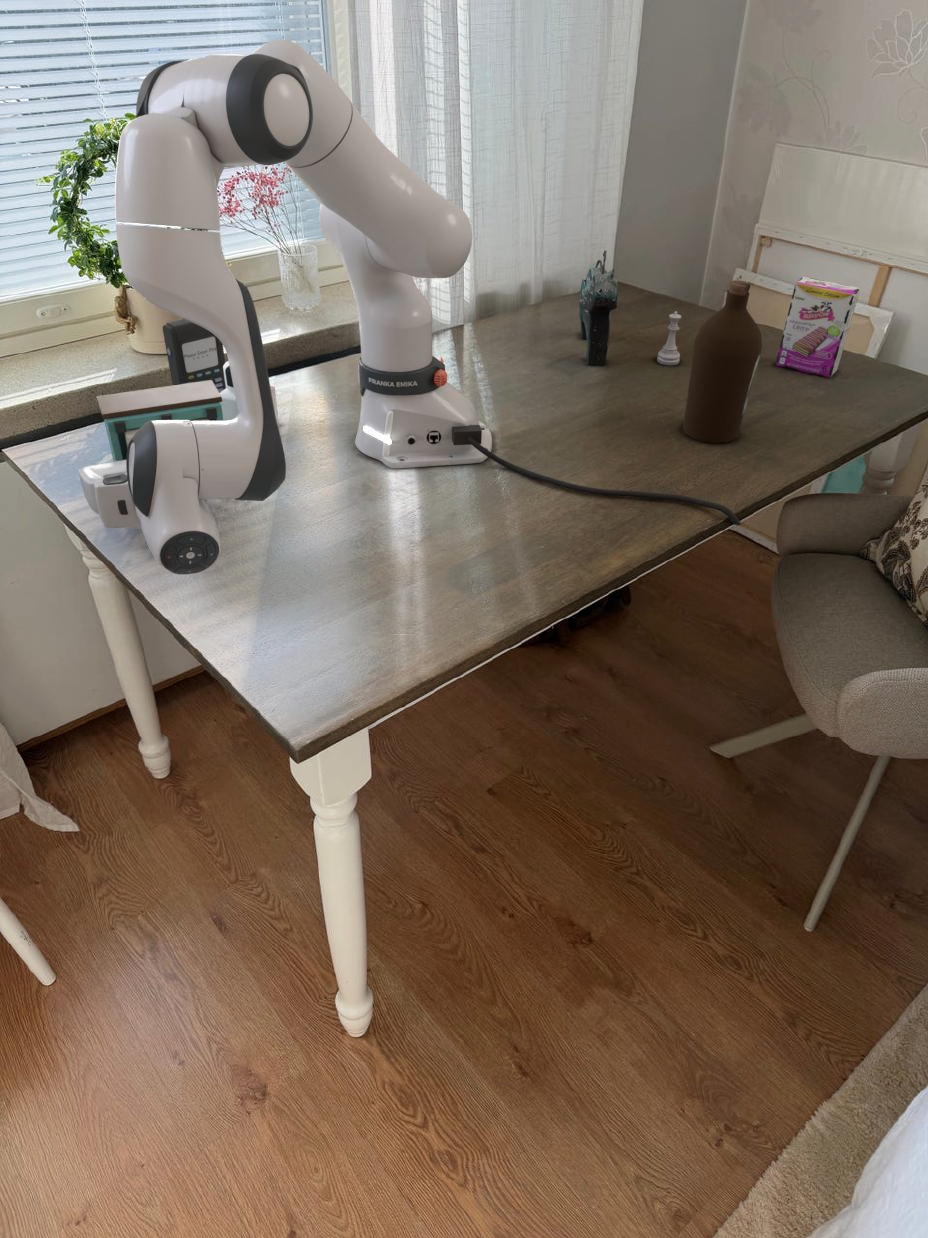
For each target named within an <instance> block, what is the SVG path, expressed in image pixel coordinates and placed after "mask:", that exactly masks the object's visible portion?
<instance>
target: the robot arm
mask: <svg viewBox="0 0 928 1238" xmlns="http://www.w3.org/2000/svg"><path fill="white" fill-rule="evenodd" d="M135 110H136V111H135V115H134V119H133V118H132V120H130V121H129V122H128V123H126V125H125V126H124V128H123V129H122V132H121V134H120V137H119V143H118V149H117V158H116V168H115V184H114V212H115V213H114V214H115V215H114V216H115V223H116V224H115V232H116V234H115V235H116V242H117V251H118V256H119V262H120V267H121V271H122V273H123V276H124V278H125V279H126V281H127V283H128V284H129V285H130V287H131V288H132V289H133V290H134V291H135V292H136V293H137V294H138V295H139V296H140V297H141V298H143V299H144V300H145V301H146V302H148V303H150V304H151V305H153V306H155V307H156V308H158V309H160V310H161V311H164V312H166V313H168V314H171V315H173V316H175V317H177V318H180V319H181V320H182V319H185V320H187V321H190V322H192V323H194V324H196V325H199V326H201V327H203V328H205V329H206V330H208V331H210V332H211V333H213V334H214V335H215V336H216V337H217V338H218V339H219V340H220V341H221V343H222V344H223V349H224V350H225V353H226V355H227V356H226V357H227V361H229V366H230V371H231V376H232V381H233V386H234V392H235V397H236V402H237V407H238V415H237V417H236V418H235V419H232V420H225V421H190V420H156V421H148V422H146V423H145V424H144V425H143V426H142V427H141V428H140V429H139V430H138V431H137V432H136V434H135V435H134V436H133V438H132V439H131V440H130V442H129V445H128V449H127V459H126V460H121V461H115V462H114V461H110V462H104V463H98V464H91V465H86V466H83V467H81V468H80V469H79V470H78V473H77V474H78V477H79V482H80V485H81V488H82V492H83V496H84V498H85V501H86V502H87V504H88V506H89V508H90V509H91V511H92V512H94V513H95V514H97V515H98V516H99V517H100V520H101V522H102V525H103V526H104V527H105V528H107V529H140V530H141V532H142V535H143V538H144V540H145V542H146V545H147V546H148V549H149V551H150V552H151V554H152V556H153V557H154V559H155V561H156V562H157V563H158V564H159V565H160V566H161V567H162V568H163V569H165V570H166V571H167V572H169V573H173V574H175V575H194V574H198V573H201V572H204V571H207V569H209V568H210V567H211V566H213V565H214V564H215V563H216V561H217V560H218V558H219V556H220V554H221V538H220V533H219V529H218V525H217V522H216V519H215V516H214V514H213V511H212V509H211V506H210V505H209V504H208V503H207V501H214V500H215V501H216V500H235V501H249V502H250V501H251V502H252V501H254V502H264V501H266V500H267V499H268V498H269V497H270V496H272V495H273V494H274V493H276V491H277V490H278V489H279V488H280V487H281V486H282V485H283V483H284V482H285V479H286V474H287V457H286V452H285V451H286V450H285V447H284V444H283V441H282V437H281V431H280V429H279V425H278V424H277V420H276V416H275V411H274V405H273V399H272V394H271V388H270V385H271V383H270V378H269V371H268V366H267V360H266V353H265V349H264V344H263V338H262V334H261V329H260V324H259V320H258V315H257V311H256V307H255V303H254V300H253V297H252V295H251V292H250V290H249V288H248V286H247V284H245V283H243V282H242V281H240V280H238V279H237V278H235V276H234V275H233V273H232V272H231V270H230V267H229V265H228V264H227V260H226V257H225V255H224V254H225V253H224V251H223V247H222V240H221V224H220V223H221V219H220V218H221V217H220V205H219V195H218V186H219V182H220V178H221V176H222V173H223V172H224V170H225V169H231V168H236V167H249V166H257V165H261V166H274V165H278V164H281V163H285V164H286V166H287V167H288V168H289V169H290V170H291V172H292V173H294V175H295V176H296V177H297V178H298V179H299V180H300V182H301V183H302V184H303V185H304V186H305V188H307V190H308V191H309V192H310V193H311V194H312V196H313V197H314V198H315V199H316V200H317V201H318V202H319V203H320V206H319V212H318V213H319V215H318V216H319V217H318V218H319V219H318V220H319V226H320V231H321V233H322V234H323V237H324V239H325V240H326V241H327V243H328V244H329V245H330V246H331V248H333V250H334V251H335V253H336V255H337V257H338V259H339V260H340V263H341V265H342V266H343V269H344V271H345V274H346V276H347V279H348V281H349V285H350V287H351V289H352V290H351V291H352V293H353V297H354V301H355V304H356V308H357V309H356V310H357V314H358V315H357V316H358V327H359V341H360V357H359V360H358V366H357V375H358V389H359V392H360V396H361V401H360V402H361V404H360V414H359V421H358V426H357V427H358V428H357V432H356V436H355V440H354V444H355V447H356V449H358V451H359V452H361V453H362V454H364V455H365V456H367V457H370V458H373V459H375V460H377V461H378V460H379V461H380V462H382V463H383V464H384V465H385V466H386V467H388V468H391V469H408V468H424V467H438V466H455V465H468V464H481V463H482V462H484V461H485V460H487V459H488V458H489V459H490V460H492V461H493V462H495V463H496V464H498V465H500V466H502V467H504V468H506V469H508V470H511V471H513V472H515V473H518V474H520V475H522V476H525V477H527V478H531V479H534V480H536V481H541V482H544V483H547V484H550V485H553V486H556V487H560V488H564V489H566V490H567V489H568V490H570V491H571V490H572V491H575V492H581V493H586V494H591V495H599V496H606V497H607V496H611V497H624V498H625V497H628V498H640V499H651V500H652V499H653V500H663V501H664V500H665V501H674V502H682V503H686V504H691V505H695V506H700V507H704V508H708V509H709V508H710V509H712V510H717V511H718V512H721V513H723V514H724V515H725V516H726V517H728V519H729V520H730V522H732V524H733V525H734V526H741V525H742V524H741V522H740V520H739V518H738V516H737V515H735V513H734V512H733V511H732V510H731V509H729V508H728V507H727V506H725V505H723V504H720V503H717V502H713V501H708V500H704V499H700V498H695V497H691V496H685V495H680V494H672V493H671V494H670V493H661V492H649V491H648V492H646V491H637V490H620V489H619V490H618V489H605V488H597V487H590V486H585V485H579V484H575V483H571V482H567V481H563V480H559V479H556V478H553V477H550V476H546V475H543V474H540V473H538V472H537V473H536V472H534V471H531V470H527V469H525V468H522V467H520V466H518V465H515V464H513V463H511V462H509V461H507V460H505V459H503V458H501V457H500V456H498V455H496V454H494V453H493V452H492V449H493V438H492V433H491V430H490V429H489V427H488V426H487V425H486V424H485V423H483V422H481V421H480V420H479V414H478V411H477V408H476V406H475V403H474V402H473V400H472V399H471V398H470V397H469V396H468V395H466V394H464V393H463V392H462V391H460V389H458V388H456V387H455V386H453V385H452V384H450V383H449V382H448V373H447V371H446V364H445V363H444V362H445V361H444V359H443V357H442V356H441V357H440V359H438V358H437V357H436V356H434V355H433V310H432V308H431V306H430V303H429V301H428V300H427V298H426V297H425V296H424V295H423V293H422V292H421V291H420V289H419V288H418V286H417V284H416V283H415V280H414V278H413V277H415V278H420V279H449V278H451V277H453V276H454V275H456V274H457V273H459V271H460V270H461V269H462V268H463V266H464V265H465V263H466V262H467V261H468V258H469V255H470V254H471V253H470V252H471V249H472V244H473V232H472V231H473V230H472V225H471V222H470V218H469V217H468V214H467V213H466V212H465V211H464V210H463V209H462V208H461V207H460V206H457V205H456V204H455V203H453V202H452V201H451V200H448V199H447V198H445V196H443V195H441V194H440V193H439V192H437V191H436V190H435V189H433V188H432V186H430V185H429V184H428V183H426V181H424V180H423V179H422V178H421V177H420V176H419V175H418V174H417V173H415V171H414V170H412V169H411V168H410V166H408V165H407V164H406V163H405V162H403V161H402V160H401V159H400V158H399V157H397V155H395V153H393V152H392V151H391V150H390V149H389V148H388V147H387V146H386V145H385V144H384V143H383V142H382V141H381V140H380V138H379V137H378V136H377V134H376V133H375V132H374V131H373V130H372V128H371V127H370V125H369V124H368V123H367V121H366V120H365V119H364V117H363V116H362V115H361V113H360V112H359V111H358V109H357V108H356V106H355V105H354V104H353V102H352V101H351V99H350V98H349V97H348V96H347V94H346V93H345V91H344V90H343V89H342V87H340V85H339V84H338V83H337V81H336V80H335V79H334V78H333V77H332V76H331V75H330V74H329V73H328V72H327V70H326V69H325V68H324V67H323V66H322V65H321V64H320V63H319V62H318V61H317V60H316V59H315V58H314V57H313V56H312V55H311V54H309V52H307V51H306V50H305V49H304V48H303V47H302V46H300V45H298V44H297V43H295V42H294V41H290V40H288V39H287V40H286V39H274V40H271V41H269V42H266V43H264V44H262V45H261V46H259V47H258V48H256V49H255V50H254V51H253V52H252V54H249V55H242V54H230V53H229V54H226V53H224V54H223V53H222V54H210V55H209V54H208V55H206V56H204V57H198V58H197V57H196V58H191V59H188V60H185V61H183V60H172V61H169V62H166V63H164V64H162V65H159V66H158V67H156V68H154V69H153V70H151V71H150V72H149V73H148V74H147V75H146V76H145V78H144V79H143V81H142V83H141V85H140V87H139V90H138V95H137V98H136V107H135ZM118 223H120V224H118ZM219 231H220V232H219Z"/></svg>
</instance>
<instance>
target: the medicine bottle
mask: <svg viewBox="0 0 928 1238" xmlns="http://www.w3.org/2000/svg"><path fill="white" fill-rule="evenodd" d="M223 371H224V378H225V385H226V389H224V390H223V391H222V392H220V395H221V397H222V402H220V404H221V407H222V413H223V421H225V420H232V419H235V418H236V417H237V415H238V407H237V402H236V397H235V392H234V386H233V381H232V376H231V371H230V366H229V360H227V361H225V364H224V365H223ZM270 388H271V394H272V399H273V405H274V411H275V416H276V420H277V424H278V426H279V425H280V421H279V414H278V413H279V412H278V403H277V394H276V387H275V386H274V385H271V384H270Z"/></svg>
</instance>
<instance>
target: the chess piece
mask: <svg viewBox="0 0 928 1238" xmlns="http://www.w3.org/2000/svg"><path fill="white" fill-rule="evenodd" d="M668 318H669V320H670V323H669V325H668V326H667V327H666V330H667V331H668V332H669V333H668V336H667V340H666V343H665V344H664V345H663V346H662V348H661V349H660V350H659V351H658V353H657V359H656V361H657V362H658V364H661V365H664V366H677V365H678V364H679V363H680V357H681V354H680V352H679V351H678V346H676V334H677V332H679V331H680V326H679V324H678V323H679V321H680V320H682V315H681V314H678V311H677V310H675V311H674V312H673V313H670V314H669V315H668Z"/></svg>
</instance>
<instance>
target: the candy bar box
mask: <svg viewBox="0 0 928 1238" xmlns="http://www.w3.org/2000/svg"><path fill="white" fill-rule="evenodd" d="M792 291H793V292H792V295H791V300H790V304H789V308H788V312H787V316H786V321H785V323H784V328H783V332H782V337H781V340H780V345H779V348H778V353H777V357H776V361H775V366H777V367H782V368H786V369H791V370H796V371H799V372H804V373H808V374H811V375H817V376H821V377H824V378H832V377H833V376H834V374H835V373H836V372H837V371H838V369H839V365H840V362H841V358H842V355H843V351H844V348H845V344H846V341H847V338H848V337H847V336H848V333H849V330H850V327H851V323H852V320H853V316H854V312H855V309H856V305H857V304H858V303H857V302H858V299H859V295H860V292H861V288H860V287H859V286H853V285H848V284H843V283H837V282H832V281H826V280H822V279H817V278H811V277H806V276H802V277H801V278H800V279H798V280H797V281H796V282H795V283H794V287H793V290H792Z"/></svg>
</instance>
